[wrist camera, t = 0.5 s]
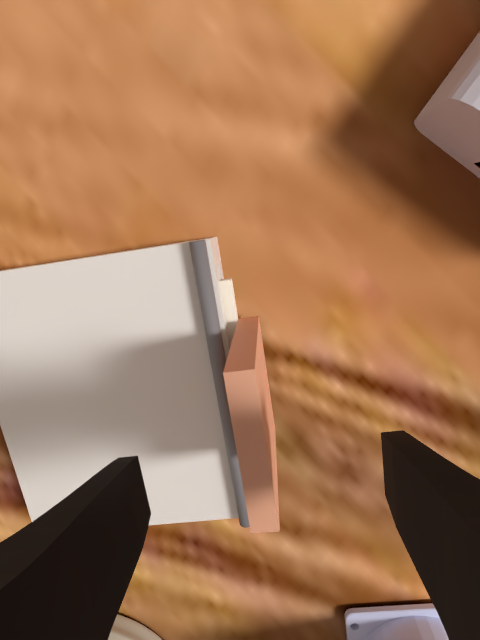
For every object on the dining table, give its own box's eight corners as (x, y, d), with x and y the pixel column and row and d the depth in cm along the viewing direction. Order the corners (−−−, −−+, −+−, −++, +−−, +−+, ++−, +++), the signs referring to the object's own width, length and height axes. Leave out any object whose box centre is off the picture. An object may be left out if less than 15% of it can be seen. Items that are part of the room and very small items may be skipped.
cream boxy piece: (252, 275, 18) (245, 306, 12) (279, 461, 21) (286, 578, 14) (16, 309, 20) (-117, 356, 13) (66, 482, 22) (-23, 598, 15)
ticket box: (217, 236, 19) (207, 239, 16) (257, 484, 22) (256, 526, 19) (-11, 272, 20) (-61, 281, 17) (59, 502, 23) (28, 545, 20)
